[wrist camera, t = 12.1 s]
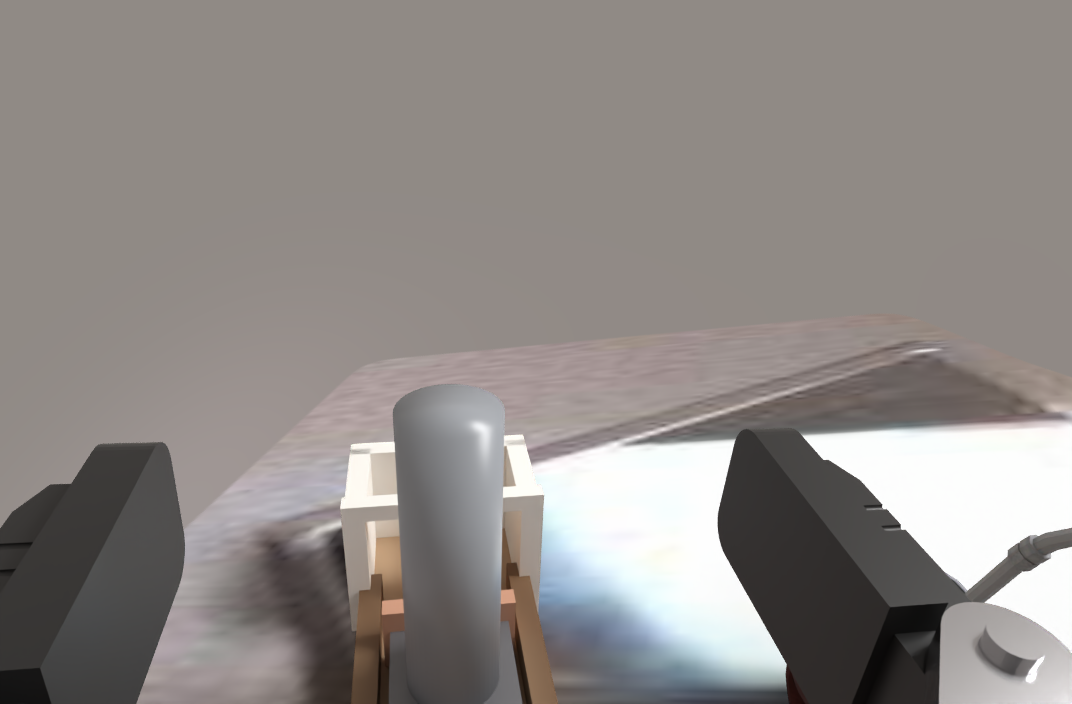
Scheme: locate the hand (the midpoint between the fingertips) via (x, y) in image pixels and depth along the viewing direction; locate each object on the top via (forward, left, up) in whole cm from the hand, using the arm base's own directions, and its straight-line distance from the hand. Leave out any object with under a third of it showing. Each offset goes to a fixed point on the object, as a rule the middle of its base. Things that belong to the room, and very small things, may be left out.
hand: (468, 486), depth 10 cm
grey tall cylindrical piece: (0, +13, -20) cm, 23 cm away
